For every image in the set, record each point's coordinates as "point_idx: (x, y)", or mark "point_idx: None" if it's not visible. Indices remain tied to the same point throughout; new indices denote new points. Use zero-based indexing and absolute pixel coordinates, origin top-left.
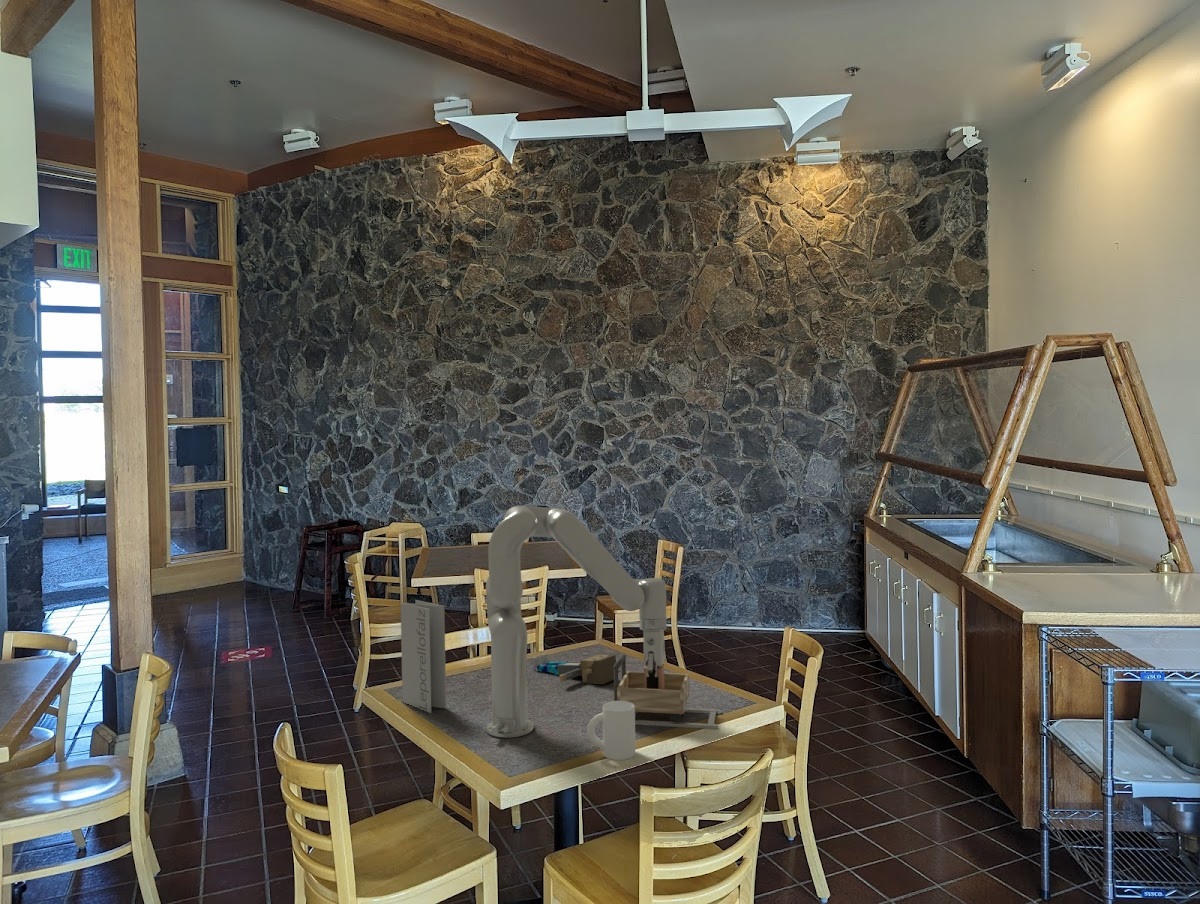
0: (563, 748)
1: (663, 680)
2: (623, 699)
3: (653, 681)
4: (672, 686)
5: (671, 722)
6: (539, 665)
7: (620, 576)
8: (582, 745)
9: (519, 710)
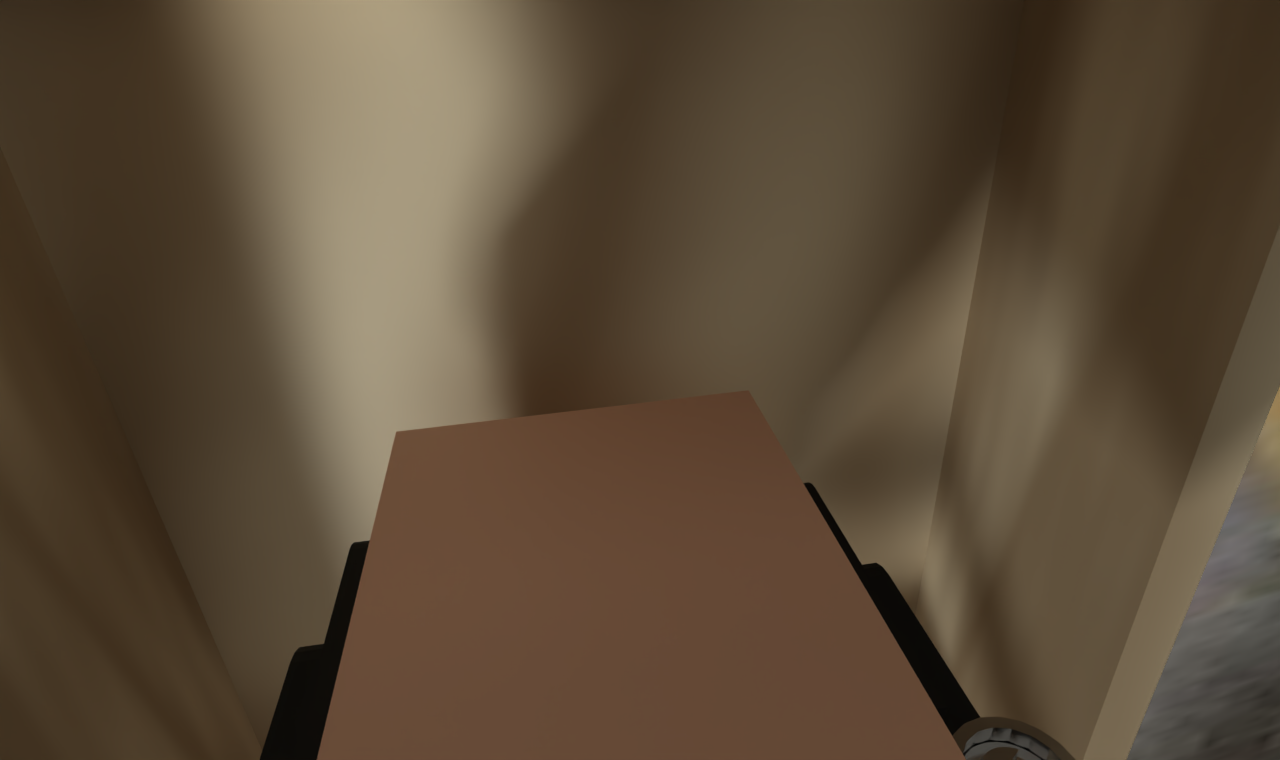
0: (1250, 714)
1: (521, 545)
2: None
3: (947, 692)
4: (7, 325)
5: None
6: None
7: None
8: (1224, 649)
9: None
